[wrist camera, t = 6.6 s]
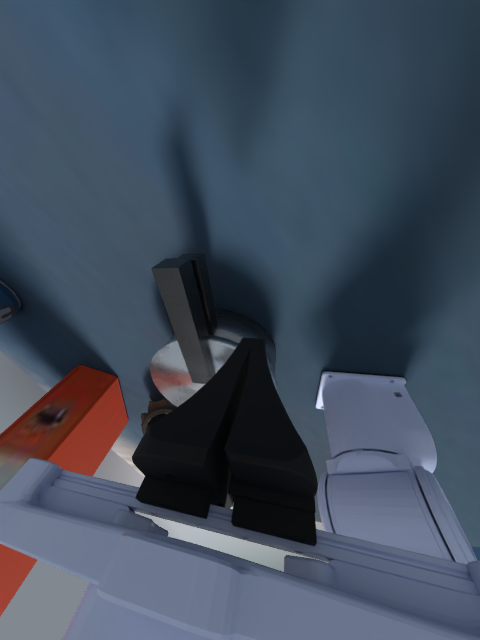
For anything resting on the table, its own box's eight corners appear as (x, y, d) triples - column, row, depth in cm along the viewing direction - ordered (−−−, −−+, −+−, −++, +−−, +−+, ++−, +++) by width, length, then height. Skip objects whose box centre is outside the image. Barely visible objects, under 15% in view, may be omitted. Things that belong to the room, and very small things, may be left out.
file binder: (96, 409, 47) (-125, 682, 22) (77, 363, 37) (-389, 782, 11) (129, 420, 47) (-56, 706, 22) (118, 376, 37) (-259, 828, 11)
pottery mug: (141, 392, 40) (123, 420, 32) (185, 372, 40) (179, 395, 32) (169, 438, 43) (159, 474, 35) (210, 419, 43) (210, 450, 35)
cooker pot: (275, 400, 32) (273, 432, 28) (193, 391, 35) (182, 419, 31) (277, 241, 18) (274, 259, 14) (141, 247, 21) (107, 264, 17)
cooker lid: (277, 423, 26) (276, 443, 24) (175, 410, 29) (166, 427, 27) (279, 252, 14) (278, 264, 12) (99, 259, 17) (74, 270, 15)
